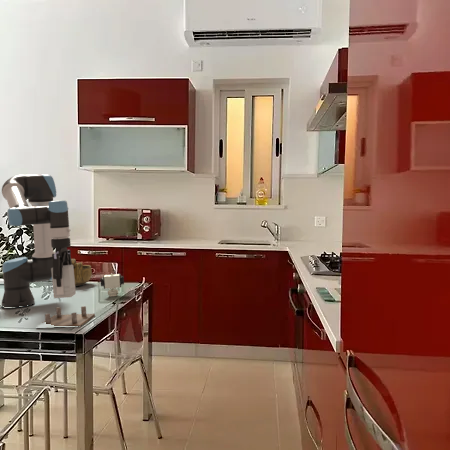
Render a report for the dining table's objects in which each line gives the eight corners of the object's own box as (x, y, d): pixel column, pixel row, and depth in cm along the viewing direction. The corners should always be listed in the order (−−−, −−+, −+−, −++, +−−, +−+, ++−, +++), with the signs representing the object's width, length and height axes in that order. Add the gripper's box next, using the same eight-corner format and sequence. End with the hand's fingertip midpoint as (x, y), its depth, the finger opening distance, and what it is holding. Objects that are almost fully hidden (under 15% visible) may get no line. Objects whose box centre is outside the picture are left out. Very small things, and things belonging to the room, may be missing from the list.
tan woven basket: (59, 284, 292) (57, 260, 291) (87, 280, 301) (86, 257, 300) (66, 290, 273) (64, 264, 272) (96, 286, 281) (94, 260, 280)
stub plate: (36, 329, 192) (35, 316, 192) (54, 317, 210) (53, 306, 210) (80, 327, 191) (79, 315, 191) (94, 315, 209) (94, 304, 208)
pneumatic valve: (124, 295, 249) (123, 272, 248) (101, 298, 246) (99, 274, 245) (124, 293, 254) (123, 271, 253) (101, 295, 251) (100, 273, 250)
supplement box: (76, 293, 203) (74, 264, 203) (71, 297, 196) (68, 267, 195) (58, 294, 203) (56, 265, 202) (53, 298, 196) (50, 268, 195)
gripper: (59, 239, 188) (63, 297, 189) (78, 235, 208) (82, 287, 209) (40, 240, 188) (45, 298, 190) (61, 236, 209) (65, 287, 210)
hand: (64, 292), depth 199 cm, fingers closed on supplement box, 8 cm apart
